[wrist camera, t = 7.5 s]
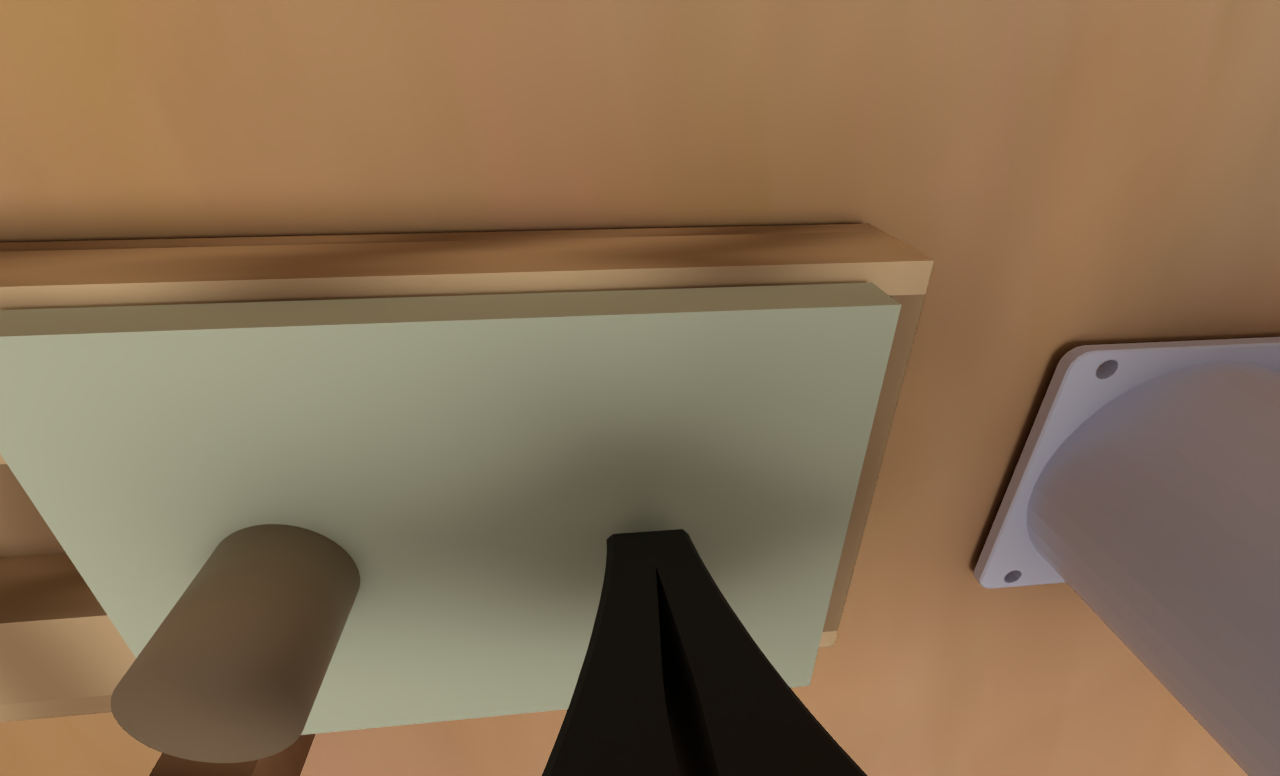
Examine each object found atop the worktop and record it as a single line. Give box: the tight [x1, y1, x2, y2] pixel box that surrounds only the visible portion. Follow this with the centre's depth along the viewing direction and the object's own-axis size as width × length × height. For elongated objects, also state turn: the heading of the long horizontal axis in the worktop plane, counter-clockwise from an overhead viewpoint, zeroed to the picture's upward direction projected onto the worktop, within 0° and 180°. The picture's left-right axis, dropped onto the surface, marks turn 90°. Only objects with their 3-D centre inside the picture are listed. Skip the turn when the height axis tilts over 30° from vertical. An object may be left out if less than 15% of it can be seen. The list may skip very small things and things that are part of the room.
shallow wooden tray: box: [0, 224, 934, 722], centre depth 12 cm, size 20×10×2 cm, turn 89°
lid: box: [0, 283, 901, 763], centre depth 10 cm, size 13×9×4 cm
